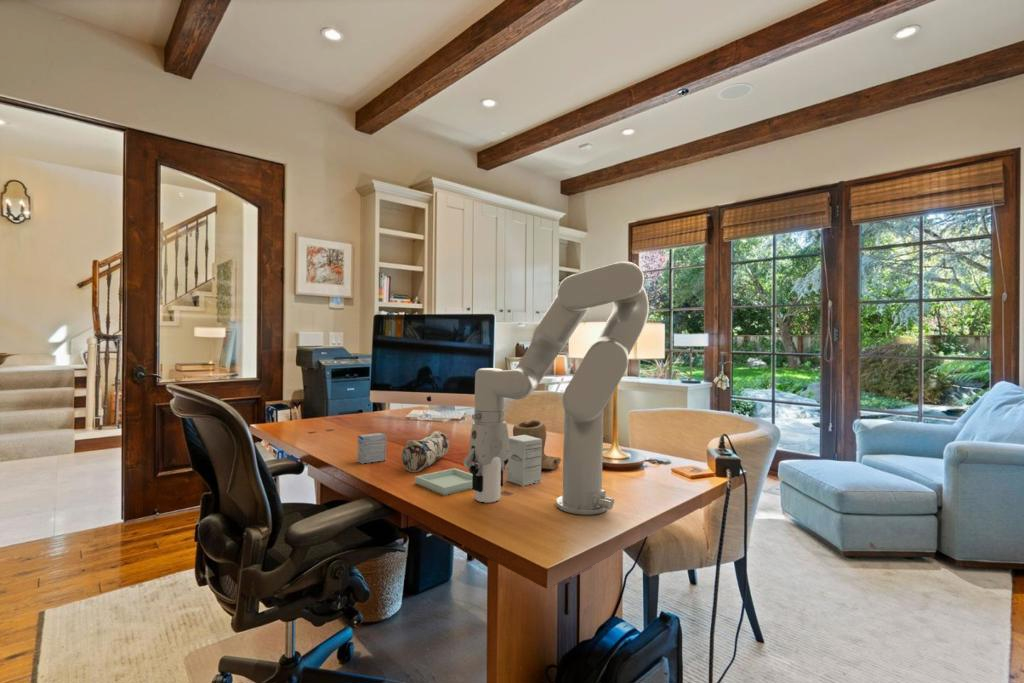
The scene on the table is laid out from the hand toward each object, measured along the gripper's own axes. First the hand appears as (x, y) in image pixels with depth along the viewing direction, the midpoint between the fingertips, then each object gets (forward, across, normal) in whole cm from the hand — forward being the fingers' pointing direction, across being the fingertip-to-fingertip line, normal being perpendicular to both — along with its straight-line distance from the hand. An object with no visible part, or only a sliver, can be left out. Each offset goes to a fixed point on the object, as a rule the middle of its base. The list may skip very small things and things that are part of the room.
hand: (487, 487), depth 123 cm
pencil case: (+3, +8, +39) cm, 40 cm away
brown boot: (+3, +31, +13) cm, 34 cm away
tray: (+3, 0, +16) cm, 16 cm away
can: (+3, 0, 0) cm, 3 cm away
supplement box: (+3, +18, +5) cm, 19 cm away
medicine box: (+3, -4, +53) cm, 53 cm away
